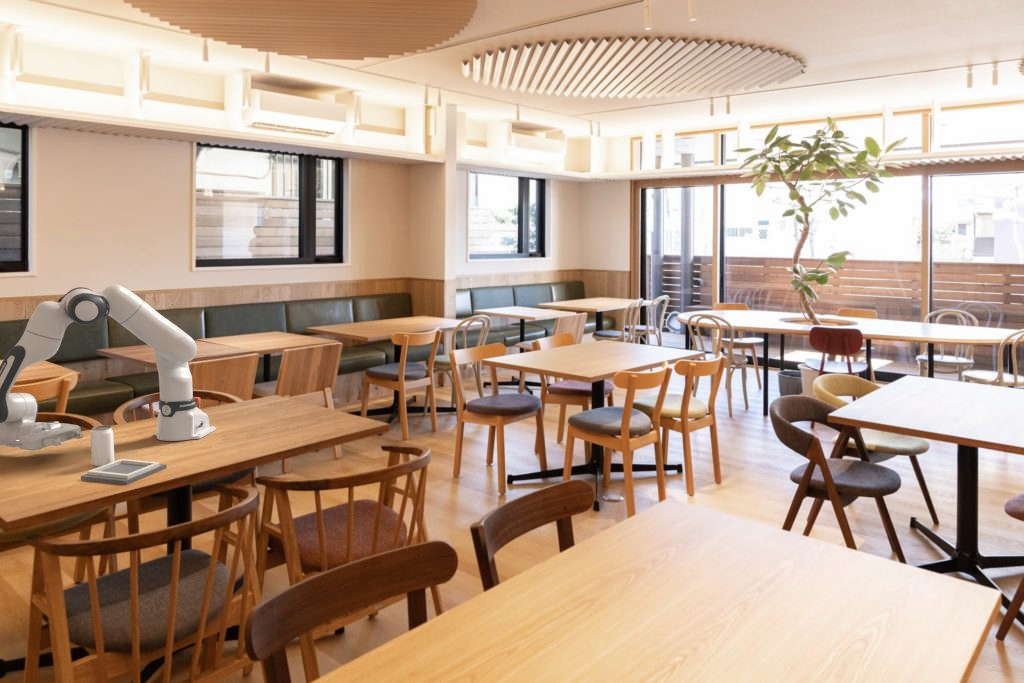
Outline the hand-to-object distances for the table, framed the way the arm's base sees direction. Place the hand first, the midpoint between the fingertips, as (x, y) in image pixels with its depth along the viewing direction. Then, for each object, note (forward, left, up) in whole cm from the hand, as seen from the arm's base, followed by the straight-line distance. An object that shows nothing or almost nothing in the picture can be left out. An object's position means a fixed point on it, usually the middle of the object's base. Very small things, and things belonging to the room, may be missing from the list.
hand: (70, 439), depth 258 cm
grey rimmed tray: (+7, +26, -7) cm, 28 cm away
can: (0, +12, -7) cm, 14 cm away
